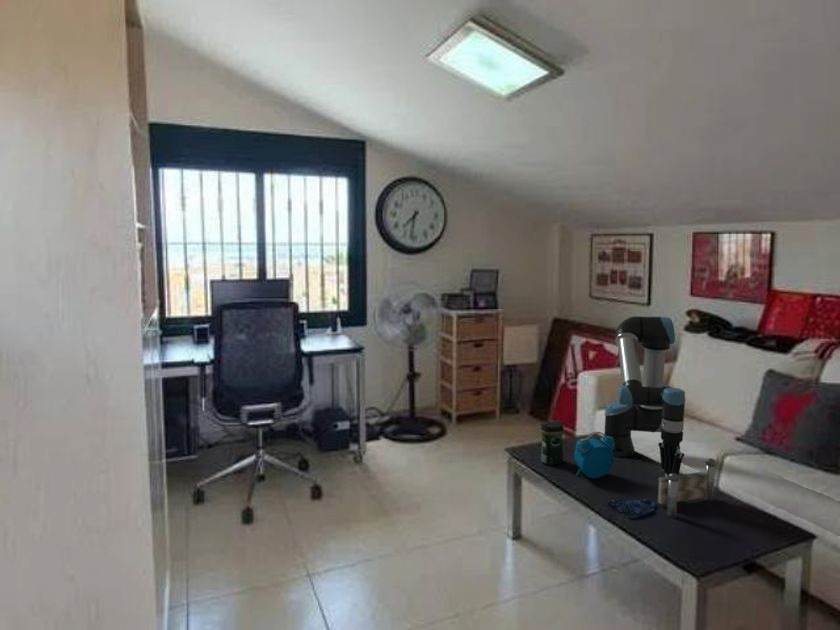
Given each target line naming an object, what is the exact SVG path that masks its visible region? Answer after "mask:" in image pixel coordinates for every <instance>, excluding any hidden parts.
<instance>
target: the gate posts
mask: <svg viewBox="0 0 840 630" xmlns="http://www.w3.org/2000/svg"><path fill="white" fill-rule="evenodd" d="M716 465H717V462H716V460H715V459H713V458H707V459H706V461H705V473H707V474H708V477H707V488H706V497H705V498H703V499H704V500H705V501H707V500H708V501H709V502H712V501H714V491H715V475H716V474H715V473H716ZM668 479H669V483H668V502H667V503H666V504H667V506H666V516H667V517H668V518H671V519H676V517H677V508H678V507H677V505H678V504H677V503H678V502H677V489H678V480H679V477H678V475H677V474H676V473H670V474H669V476H668ZM708 501H707V502H708Z"/></svg>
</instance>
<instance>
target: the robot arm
mask: <svg viewBox="0 0 840 630" xmlns="http://www.w3.org/2000/svg"><path fill="white" fill-rule="evenodd" d="M675 335H676V333H675V326H674V323H673V320H672V318H670V317H667V316H666V317H665V316H664V317H663V316H636V315H635V316H630V317H628V318H626V319H625V320H623V321H622V322H621V323H620V324H619V325H618V326H617V329H616V330H615V333H614V344H615V345H616V347H617V349H618V358H619V359H618V360H619V367H620V375H621V385H619V386H618V388H617V400H615V401H611V402H608V403H607V404H606V406H605V411H604V432H603V434H605V435H606V436H608V437H613V441H614V443H615V446H614V449H613V450H612V449H611V448H610V447H609V446H608V445H606V444H605V443H604V442H603V441H602V440H601V442H602V443H603V444H604V445H606V446H607V447H608V448H609V449H611V450H612V452H613V454H614V457H619V458H625V457H626V458H627V457H632V456H633V455H634V454H635V447H634V442H633V438H632V432H643V433H644V432H647V433H660V439H661V440H662V442H658V447H659V455H660V457H659V458H660V465H661V466H660V468H661V469H662V470H663V471H664V477H667V476H669V474H670V473H676V474H677V475H680V474H679V473H680V470H681V466H682V462H683V459H684V457H685V453H684V452H682V451H681V446H680V443H682V442H683V438H684V432H683V430H684V426H685V425H684V423H685V407H686V406H685V404H686V392H685V390H683V389H680V388H677V387H671V386H670V385H666V384H665V385H664V377H665V363H666V354H667V353H666V352H667V351H669V349H670V346H671V345H673V344H675V340H676V336H675ZM638 344H641V346H640V347H641V348H642V349H644V354H643V370H642V375H641V367H640V359H639V353H638V352H639V351H638ZM602 437H605V436H604V435H603V436H602Z"/></svg>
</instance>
